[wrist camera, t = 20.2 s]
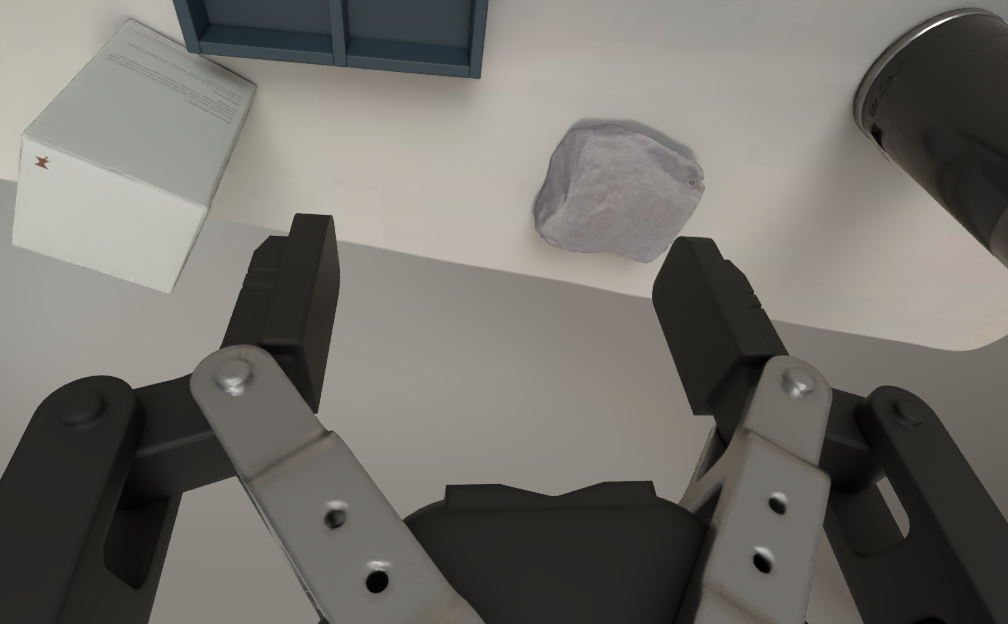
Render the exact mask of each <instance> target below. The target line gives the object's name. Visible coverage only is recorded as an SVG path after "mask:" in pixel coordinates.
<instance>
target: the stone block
mask: <svg viewBox="0 0 1008 624" xmlns="http://www.w3.org/2000/svg"><path fill="white" fill-rule="evenodd" d="M703 178H704V174H703V170H702V168H701V167H700V165H699V164H698V163H697V162H695V161H693V160H691V159H689V158H687V157H684V156H682V155H680V154H678V153H676V152H674V151H673V150H672V149H669V148H666V147H664V146H663V145H661V144H660V143H658V142H657V141H655V140H653V139H651V138H648V137H646V136H644V135H643V134H640V133H634V132H630V131H629V130H627V129H623V128H621V127H619V126H617V125H603V126H594V127H582V128H577V129H574V130H571V131H570V132H569V133H568V135H567V136H566V138H565V139H564V141H563V142H562V143H561V145H560V146H559V148H558V149H557V150H556V151H555V152H554V153H553V154H552V157H551V161H550V167H549V170H548V175H547V178H546V181H545V184H544V186H543V188H542V191H541V194H540V197H539V200H538V202H537V206H536V208H535V214H534V215H535V228H536V230H537V231H538V232H539V233H540V236H541V237H542V238H543V239H544V240H545V241H546V242H547V243H548V244H550V245H553V246H555V247H559V248H561V249H563V250H568V251H575V252H582V253H598V252H610V253H615V254H618V255H624V256H628V257H630V258H632V259H634V260H636V261H638V262H642V263H649V262H651V261H653V260H655V259H656V258H658V257H659V256H660V255H661V254H662V253H663V252H664V251H666V249H667V248H668V246H669V245H670V244H671V243H672V241H673V239H674V238H675V237H676V236H677V234H678V233H679V232H680V230H681V229H682V227H683V226H684V225H685V224H686V222H687V221H688V219H689V218H690V217H691V215H692V214H693V212H694V210H695V208H696V206H697V204H698V202H699V201H700V199H701V197H702V194H703V192H704V189H705V187H704V185H703V184H702V180H703Z"/></svg>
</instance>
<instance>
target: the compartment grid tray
mask: <svg viewBox="0 0 1008 624" xmlns="http://www.w3.org/2000/svg"><path fill="white" fill-rule="evenodd" d="M173 3H174V6H175V10H176V13H177V16H178V20H179V23H180V27H181V30H182V33H183V37H184V40H185V43H186V47H187V50H188V52H189V53H197V54H201V53H202V54H208V55H219V56H230V57H241V58H252V59H263V60H275V61H286V62H297V63H308V64H319V65H330V66H334V65H335V66H339V67H350V68H362V69H373V70H384V71H395V72H406V73H417V74H428V75H439V76H450V77H461V78H474V79H480V78H481V68H482V58H483V49H484V39H485V29H486V19H487V10H488V0H173Z"/></svg>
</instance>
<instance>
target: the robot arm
mask: <svg viewBox="0 0 1008 624" xmlns="http://www.w3.org/2000/svg"><path fill="white" fill-rule="evenodd" d="M854 115H855V120H856V123H857V126H858V127H859V129H860V130H861V131H862V132H863V133H864V134H865V135H866V136H867V137H868V138H869V139H871V140H872V141H873V143H874V144H875V146H876V147H877V149H878V150H879V151H880V153H881V154H882V155H883V156H884V157H885V158H886V159H887V160H888V161H889V159H888V158H887V157H886V155H885V154H884V152H883V151H882V149H883V150H884V151H885V152H886V153H887V154H888V155H889V156H890V157H891V158H892V159H893V160H894V161H895V162H896V163H897V164H898V165H899V166H900V167H901V168H902V169H904V170H905V171H906V172H907V173H908V174H909V175H910V176H911V177H912V178H913V179H914V180H915V181H916V182H917V183H918V184H919V185H920V186H921V187H922V188H923V189H924V190H925V191H926V192H928V193H929V194H930V195H931V196H932V197H933V198H934V199H935V200H936V201H937V202H938V203H939V204H940V205H941V206H942V207H943V208H944V209H945V210H946V211H947V212H948V213H949V214H950V215H952V216H953V217H954V218H955V219H956V220H957V221H958V222H959V223H960V224H961V225H962V226H963V227H964V228H965V229H966V230H967V231H968V232H969V233H970V234H971V235H972V236H973V237H975V238H976V239H977V240H978V241H979V242H980V243H981V244H982V245H983V246H984V247H985V248H986V249H987V250H988V251H989V252H990V253H991V254H992V255H993V256H995V257H996V258H997V259H998V260H999V261H1000V262H1001V263H1002V264H1003V265H1004V266H1005V267H1006V268H1007V269H1008V24H1006V23H1005V22H1004V21H1003V20H1002V19H1001V18H1000V17H998V16H997V15H995V14H993V13H991V12H989V11H987V10H984V9H980V8H962V9H956V10H952V11H949V12H946V13H943V14H940V15H938V16H936V17H933V18H931V19H929V20H927V21H925V22H924V23H922V24H920V25H918V26H917V27H915V28H914V29H912V30H911V31H909V32H908V33H907V34H905V35H904V36H903V37H901V38H900V39H899V40H898V41H897V42H895V43H894V44H893V45H892V46H891V47H890V48H889V49H888V50H887V51H886V52H885V53H884V54H883V55H882V56H881V57H880V58H879V60H878V61H877V62H876V63H875V65H874V66H873V67H872V69H871V70H870V71H869V73H868V74H867V76H866V78H865V79H864V81H863V83H862V85H861V87H860V90H859V92H858V95H857V98H856V102H855V109H854ZM879 146H880V147H881V148H882V149H881V148H880V147H879ZM889 162H890V161H889ZM890 163H891V162H890ZM339 287H340V267H339V259H338V250H337V242H336V234H335V227H334V220H333V217H332V215H319V214H301V213H296V214H295V216H294V219H293V222H292V226H291V229H290V233H289V236H288V237H287V236H269V237H268V238H267V239H266V240H265V241H264V242H263V243H262V244H261V246H259V247H258V248H257V249H256V250H255V251H254V253H253V256H252V259H251V262H250V265H249V268H248V274H246V276H245V279H244V282H243V288H242V289H241V291H240V293H239V296H238V299H237V302H236V305H235V308H234V311H233V313H232V316H231V319H230V322H229V325H228V328H227V331H226V333H225V337H224V339H223V342H222V344H221V347H220V349H219V350H217V351H215V352H213V353H212V354H210V355H208V356H207V357H206V358H205V359H203V360H202V361H201V362H200V363H199V364H198V366H197V367H196V368H195V370H194V372H192V373H191V374H188V375H186V376H184V377H180V378H177V379H174V380H170V381H166V382H161V383H157V384H153V385H149V386H145V387H141V388H137V389H132V388H131V386H130V385H129V384H128V383H126V382H125V381H123V380H122V379H119V378H116V377H112V376H103V375H100V376H90V377H85V378H81V379H78V380H75V381H73V382H70V383H68V384H66V385H64V386H62V387H60V388H59V389H57V390H56V391H54V392H53V393H51V394H50V395H49V396H48V397H47V398H46V399H45V400H43V402H42V403H41V404H40V405H39V406H38V408H37V409H36V411H35V413H34V414H33V416H32V418H31V420H30V422H29V424H28V426H27V428H26V430H25V432H24V434H23V436H22V438H21V440H20V442H19V444H18V446H17V448H16V450H15V452H14V454H13V456H12V458H11V460H10V462H9V464H8V466H7V468H6V470H5V472H4V474H3V476H2V478H1V479H0V624H148V622H149V618H150V614H151V610H152V607H153V603H154V599H155V595H156V592H157V588H158V584H159V580H160V576H161V573H162V569H163V565H164V561H165V558H166V554H167V550H168V546H169V542H170V538H171V535H172V531H173V527H174V523H175V520H176V516H177V512H178V508H179V505H180V501H181V497H182V493H183V492H185V491H189V490H192V489H195V488H198V487H201V486H205V485H208V484H211V483H214V482H218V481H221V480H224V479H227V478H230V477H234V476H236V477H237V478H238V480H239V482H240V483H241V485H242V487H243V488H244V490H245V492H246V493H247V495H248V497H249V499H250V500H251V502H252V504H253V505H254V507H255V509H256V510H257V512H258V514H259V515H260V517H261V519H262V521H263V522H264V524H265V526H266V527H267V529H268V530H269V532H270V534H271V536H272V538H273V539H274V541H275V543H276V544H277V546H278V548H279V549H280V551H281V553H282V555H283V557H284V558H285V560H286V562H287V564H288V566H289V567H290V569H291V571H292V572H293V574H294V576H295V578H296V579H297V581H298V582H299V584H300V586H301V588H302V589H303V591H304V593H305V595H306V596H307V598H308V599H309V601H310V603H311V605H312V606H313V608H314V610H315V611H316V613H317V615H318V616H319V618H320V621H319V623H318V624H808V623H807V622H806V621H805V617H806V612H807V607H808V602H809V596H810V591H811V586H812V581H813V575H814V570H815V565H816V559H817V554H818V549H819V544H820V538H821V533H822V528H824V530H825V533H826V535H827V537H828V540H829V542H830V544H831V547H832V549H833V552H834V554H835V556H836V559H837V561H838V563H839V566H840V568H841V571H842V573H843V575H844V578H845V580H846V583H847V585H848V587H849V590H850V592H851V594H852V597H853V599H854V601H855V604H856V606H857V608H858V611H859V613H860V616H861V618H862V620H863V623H864V624H1008V523H1007V522H1006V520H1005V519H1004V517H1003V515H1002V514H1001V512H1000V511H999V509H998V508H997V506H996V505H995V503H994V502H993V500H992V499H991V497H990V496H989V494H988V493H987V491H986V489H985V488H984V486H983V485H982V483H981V482H980V480H979V479H978V477H977V476H976V474H975V473H974V471H973V470H972V469H971V467H970V465H969V464H968V462H967V460H966V459H965V458H964V456H963V454H962V453H961V452H960V450H959V448H958V447H957V445H956V444H955V442H954V441H953V439H952V438H951V436H950V435H949V433H948V432H947V430H946V429H945V427H944V425H943V424H942V422H941V421H940V419H939V418H938V417H937V415H936V414H935V412H934V411H933V410H932V409H931V408H930V407H929V406H928V405H927V404H926V403H925V402H924V401H923V400H922V399H920V398H919V397H917V396H916V395H914V394H912V393H911V392H909V391H907V390H904V389H902V388H899V387H895V386H880V387H878V388H876V389H875V390H874V391H873V392H872V393H871V394H869V395H868V396H867V397H866V398H865V397H861V396H858V395H855V394H851V393H848V392H844V391H841V390H838V389H834V388H831V387H830V385H829V383H828V381H827V380H826V379H825V377H824V376H823V375H822V374H821V373H820V372H819V371H818V370H817V369H816V368H815V367H813V366H812V365H810V364H808V363H807V362H805V361H803V360H801V359H798V358H795V357H791V356H789V354H788V352H787V350H786V349H785V347H784V345H783V343H782V341H781V340H780V338H779V336H778V334H777V333H776V330H775V329H774V327H773V325H772V323H771V321H770V320H769V318H768V316H767V314H766V312H765V310H764V309H761V303H760V301H759V300H758V298H757V296H756V295H754V291H753V289H752V287H751V285H750V283H749V281H748V280H747V278H746V276H745V275H744V274H743V273H742V272H741V271H740V270H739V269H738V268H737V267H736V266H735V265H734V264H733V263H732V262H731V261H730V260H724V259H723V257H722V255H721V253H720V251H719V249H718V247H717V246H716V244H715V242H714V241H713V240H712V239H711V238H703V237H685V236H680V237H678V238H677V239H676V240H675V241H674V243H673V244H672V246H671V248H670V251H669V253H668V255H667V257H666V259H665V261H664V263H663V265H662V267H661V269H660V271H659V273H658V275H657V277H656V279H655V282H654V285H653V291H652V300H653V305H654V308H655V311H656V314H657V316H658V319H659V322H660V324H661V327H662V330H663V332H664V335H665V338H666V341H667V344H668V346H669V349H670V352H671V354H672V357H673V360H674V363H675V365H676V368H677V371H678V374H679V376H680V379H681V382H682V384H683V387H684V390H685V392H686V395H687V398H688V401H689V404H690V406H691V409H692V412H693V414H694V415H713V416H714V419H715V421H716V424H715V425H714V426H713V428H712V429H711V431H710V433H709V435H708V438H707V440H706V443H705V445H704V448H703V450H702V453H701V455H700V458H699V460H698V463H697V465H696V467H695V470H694V472H693V475H692V477H691V480H690V482H689V485H688V487H687V489H686V491H685V493H684V495H683V497H682V498H681V500H680V501H679V503H678V504H675V503H673V502H671V501H668V500H665V499H663V498H660V497H657V496H656V492H655V489H654V485H653V482H652V481H620V482H602V483H599V484H595V485H592V486H589V487H586V488H582V489H579V490H576V491H573V492H569V493H566V494H563V495H559V496H548V495H544V494H540V493H536V492H531V491H527V490H523V489H518V488H514V487H510V486H506V485H502V484H471V485H446V490H445V497H444V500H441V501H438V502H434V503H432V504H429V505H427V506H425V507H423V508H421V509H419V510H417V511H415V512H414V513H412V514H410V515H409V516H407V517H406V518H405V519H403V520H402V519H401V518H400V517H399V515H398V514H397V512H396V511H395V510H394V508H393V507H392V506H391V504H390V503H389V502H388V500H387V499H386V498H385V496H384V495H383V494H382V492H381V491H380V489H379V488H378V487H377V486H376V484H375V483H374V481H373V480H372V479H371V477H370V476H369V475H368V473H367V472H366V471H365V469H364V468H363V466H362V465H361V464H360V462H359V461H358V460H357V458H356V457H355V456H354V455H353V453H352V452H351V451H350V449H349V448H348V446H347V445H346V444H345V442H344V441H343V440H342V439H341V437H340V436H339V435H338V434H337V433H336V432H334V431H327V430H326V429H325V428H324V427H323V425H322V424H321V423H320V421H319V420H318V418H317V417H316V416H315V414H317V413H318V408H319V403H320V398H321V392H322V386H323V381H324V375H325V368H326V363H327V358H328V352H329V346H330V340H331V335H332V329H333V324H334V318H335V312H336V307H337V301H338V295H339ZM886 476H887V478H888V479H889V481H890V483H891V485H892V487H893V489H894V491H895V493H896V495H897V496H898V498H899V500H900V502H901V504H902V506H903V507H904V509H905V511H906V513H907V515H908V518H909V523H910V529H909V533H908V535H907V537H906V538H905V539H904V537H903V535H902V533H901V531H900V529H899V527H898V525H897V523H896V521H895V520H894V518H893V516H892V514H891V512H890V510H889V508H888V506H887V504H886V502H885V500H884V498H883V496H882V495H881V492H880V490H879V489H878V487H877V485H876V483H877V482H878V481H880V480H881V479H883V478H884V477H886Z"/></svg>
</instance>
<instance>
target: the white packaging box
mask: <svg viewBox="0 0 1008 624" xmlns="http://www.w3.org/2000/svg"><path fill="white" fill-rule="evenodd" d="M255 91H256V86H255V85H254V84H252V83H250V82H248V81H246V80H244V79H243V78H241V77H239V76H237V75H235V74H233V73H231V72H229V71H228V70H226V69H224V68H222V67H220V66H218V65H216V64H214V63H212V62H211V61H209V60H207V59H205V58H203V57H201V56H199V55H197V54H195V53H189V52H188V50H187V49H186V48H184V47H182V46H180V45H178V44H177V43H175V42H173V41H171V40H169V39H167V38H165V37H163V36H162V35H160V34H158V33H156V32H154V31H152V30H150V29H148V28H146V27H145V26H143V25H141V24H139V23H137V22H135V21H133V20H131V19H129V20H128V21H127V22H126V23H125V24H124V25H123V26H122V27H121V28H120V29H119V30H118V31H117V32H116V33H115V34H114V35H113V37H112V38H111V39H110V40H109V41H108V42H107V43H106V44H105V45H104V46H103V47H102V48H101V49H100V51H99V52H98V53H97V54H96V55H95V56H94V57H93V58H92V59H91V60H90V61H89V62H88V63H87V64H86V65H85V67H84V68H83V69H82V70H81V71H80V72H79V73H78V74H77V75H76V76H75V77H74V78H73V79H72V80H71V82H70V83H69V84H68V85H67V86H66V87H65V88H64V89H63V90H62V91H61V92H60V93H59V94H58V95H57V96H56V97H55V99H54V100H53V101H52V102H51V103H50V104H49V105H48V106H47V107H46V108H45V109H44V110H43V111H42V112H41V114H40V115H39V116H38V117H37V118H36V119H35V120H34V121H33V122H32V123H31V124H30V125H29V126H28V127H27V128H26V129H25V130H24V131H23V133H22V134H21V149H20V163H19V176H18V188H17V198H16V206H15V217H14V225H13V235H12V244H13V245H14V246H16V247H19V248H23V249H26V250H29V251H33V252H36V253H39V254H43V255H46V256H49V257H53V258H56V259H59V260H62V261H65V262H68V263H72V264H75V265H78V266H81V267H85V268H88V269H91V270H94V271H97V272H100V273H104V274H107V275H110V276H113V277H116V278H120V279H123V280H126V281H129V282H132V283H136V284H139V285H142V286H145V287H148V288H151V289H155V290H158V291H161V292H164V293H167V294H171V293H172V291H173V289H174V287H175V285H176V283H177V281H178V279H179V276H180V274H181V272H182V270H183V268H184V266H185V264H186V262H187V260H188V257H189V255H190V253H191V251H192V249H193V247H194V245H195V243H196V240H197V238H198V236H199V233H200V231H201V229H202V226H203V224H204V222H205V220H206V218H207V215H208V213H209V211H210V208H211V204H212V201H213V198H214V196H215V193H216V191H217V188H218V186H219V183H220V181H221V178H222V176H223V173H224V171H225V169H226V166H227V164H228V161H229V159H230V156H231V154H232V152H233V149H234V147H235V144H236V142H237V139H238V137H239V134H240V132H241V129H242V127H243V124H244V121H245V119H246V116H247V114H248V111H249V108H250V106H251V103H252V100H253V98H254V95H255Z"/></svg>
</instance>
